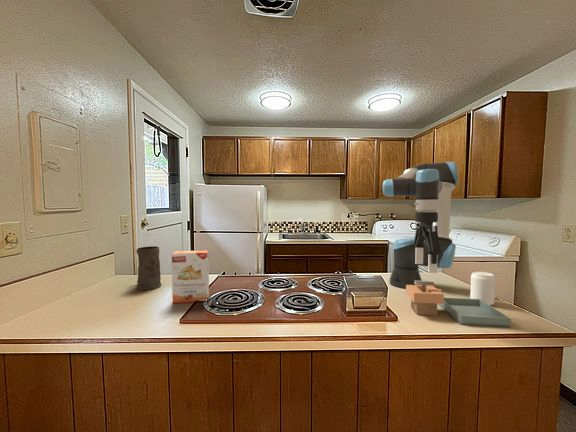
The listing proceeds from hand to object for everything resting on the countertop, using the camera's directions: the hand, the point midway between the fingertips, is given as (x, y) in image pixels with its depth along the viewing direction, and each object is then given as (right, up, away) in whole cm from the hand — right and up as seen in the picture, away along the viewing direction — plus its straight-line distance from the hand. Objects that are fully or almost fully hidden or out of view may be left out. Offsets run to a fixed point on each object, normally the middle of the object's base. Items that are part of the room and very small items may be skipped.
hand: (425, 268), depth 102 cm
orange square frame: (0, -12, +1) cm, 12 cm away
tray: (+15, -17, -2) cm, 23 cm away
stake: (0, -17, +1) cm, 17 cm away
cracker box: (-93, -17, +13) cm, 95 cm away
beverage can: (+28, -16, +10) cm, 34 cm away
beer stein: (-122, -16, +33) cm, 128 cm away
